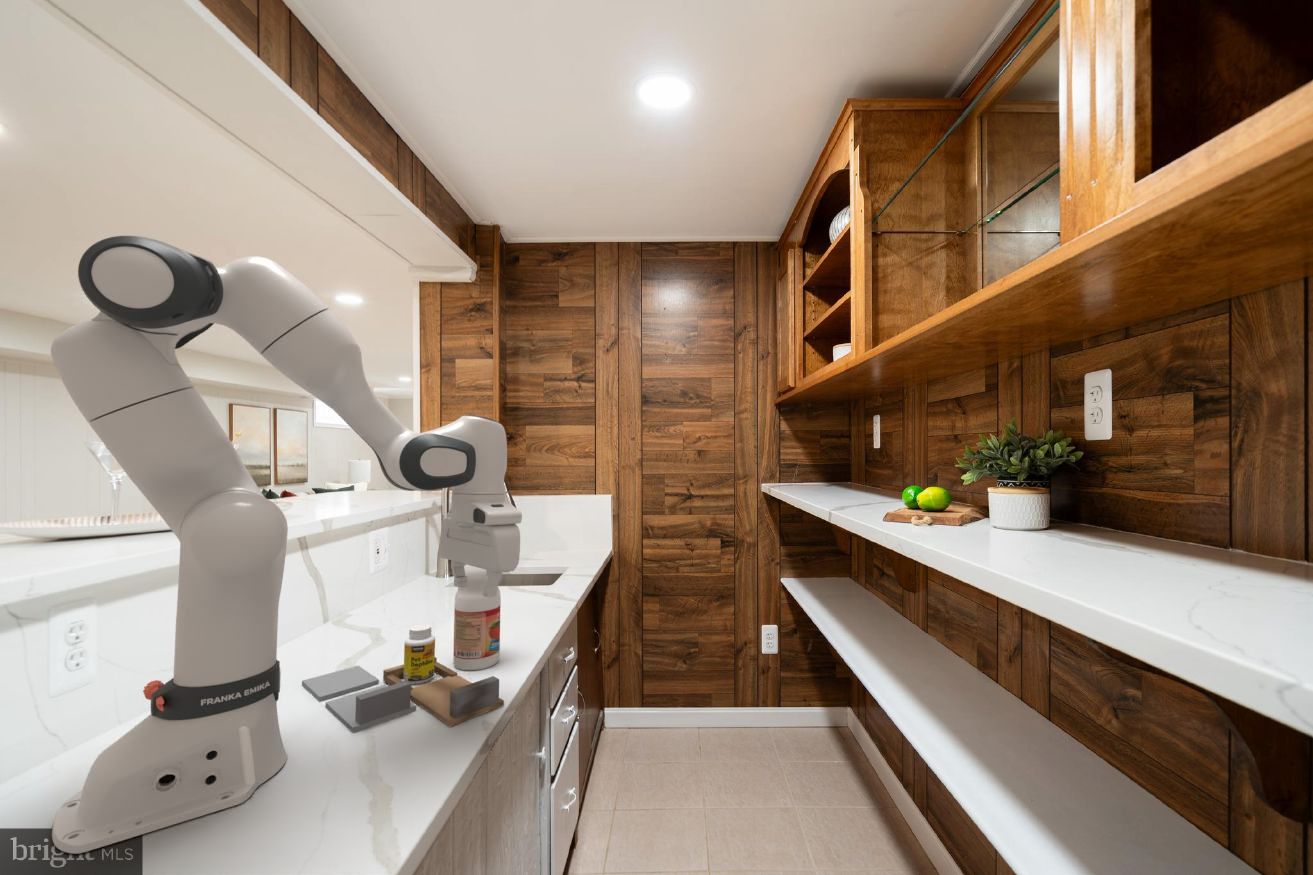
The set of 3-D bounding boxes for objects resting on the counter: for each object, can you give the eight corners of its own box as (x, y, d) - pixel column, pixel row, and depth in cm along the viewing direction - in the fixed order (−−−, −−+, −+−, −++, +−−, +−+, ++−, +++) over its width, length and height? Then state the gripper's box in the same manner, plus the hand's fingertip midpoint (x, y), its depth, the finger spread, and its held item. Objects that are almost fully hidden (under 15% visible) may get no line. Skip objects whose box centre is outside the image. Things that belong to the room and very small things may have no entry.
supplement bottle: (406, 688, 100) (407, 633, 100) (400, 678, 104) (402, 626, 105) (437, 680, 103) (438, 628, 103) (430, 671, 107) (431, 621, 108)
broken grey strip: (353, 732, 83) (353, 701, 83) (301, 684, 101) (302, 659, 101) (416, 710, 91) (416, 682, 91) (358, 669, 108) (359, 645, 108)
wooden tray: (449, 726, 85) (450, 696, 85) (383, 680, 102) (383, 655, 103) (503, 705, 93) (504, 677, 93) (433, 665, 110) (433, 642, 110)
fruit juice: (451, 658, 114) (454, 529, 116) (495, 651, 118) (498, 527, 120) (455, 674, 106) (458, 535, 107) (503, 666, 110) (505, 532, 111)
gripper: (432, 506, 95) (427, 584, 94) (494, 515, 81) (490, 606, 81) (464, 505, 100) (460, 579, 99) (528, 513, 86) (524, 599, 85)
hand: (474, 591), depth 90 cm, fingers open, 8 cm apart
